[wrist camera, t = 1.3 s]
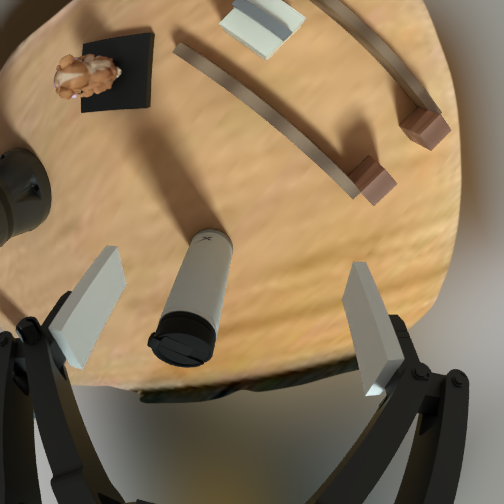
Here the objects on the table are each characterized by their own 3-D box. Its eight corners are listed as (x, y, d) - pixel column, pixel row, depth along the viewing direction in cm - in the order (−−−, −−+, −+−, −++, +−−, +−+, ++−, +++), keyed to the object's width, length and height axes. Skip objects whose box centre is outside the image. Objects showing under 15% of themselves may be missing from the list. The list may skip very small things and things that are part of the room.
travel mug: (201, 219, 41) (158, 323, 24) (241, 242, 43) (224, 354, 26) (182, 250, 44) (139, 355, 27) (219, 270, 46) (195, 381, 29)
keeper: (225, 32, 27) (215, 20, 21) (258, -2, 24) (256, -20, 18) (267, 62, 29) (267, 56, 23) (300, 29, 26) (308, 16, 20)
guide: (179, 54, 29) (163, 50, 24) (269, -39, 21) (270, -57, 16) (352, 195, 38) (364, 214, 33) (434, 114, 30) (458, 122, 25)
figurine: (88, 44, 27) (31, 42, 17) (155, 34, 27) (108, 20, 17) (86, 111, 32) (31, 129, 22) (150, 106, 33) (104, 121, 22)
